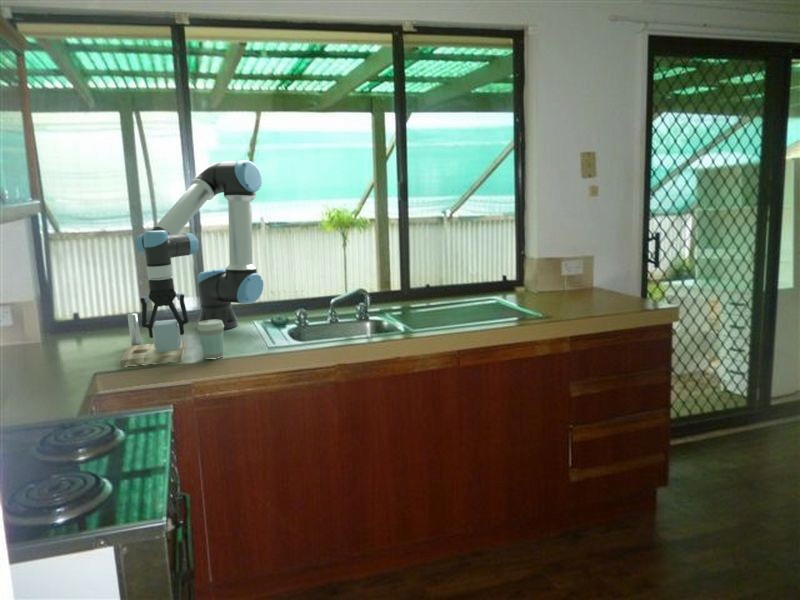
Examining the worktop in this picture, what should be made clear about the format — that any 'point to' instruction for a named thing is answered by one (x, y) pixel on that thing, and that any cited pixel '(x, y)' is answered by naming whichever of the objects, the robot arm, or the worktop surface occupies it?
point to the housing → (166, 335)
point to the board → (150, 355)
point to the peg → (134, 329)
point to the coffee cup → (211, 337)
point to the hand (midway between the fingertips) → (168, 345)
